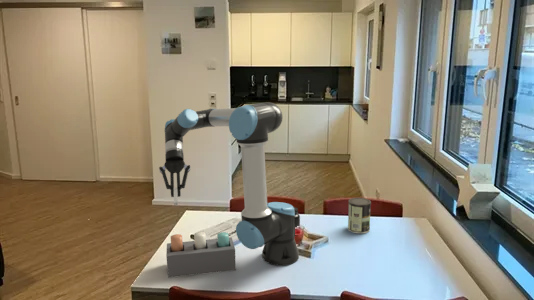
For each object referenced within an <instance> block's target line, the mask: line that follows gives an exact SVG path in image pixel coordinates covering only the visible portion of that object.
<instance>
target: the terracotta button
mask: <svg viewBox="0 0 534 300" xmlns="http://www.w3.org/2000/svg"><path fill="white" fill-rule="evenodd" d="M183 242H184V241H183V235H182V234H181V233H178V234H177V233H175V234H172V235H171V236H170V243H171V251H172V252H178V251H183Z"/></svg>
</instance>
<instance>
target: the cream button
mask: <svg viewBox="0 0 534 300" xmlns="http://www.w3.org/2000/svg"><path fill="white" fill-rule="evenodd" d="M206 235H207V234H206V232H204V231H203V232H202V231H200V232H199V231H198V232H195V233H194V234H193V238H194V240H193V241H195V250H199V249H206V240H207V237H206Z"/></svg>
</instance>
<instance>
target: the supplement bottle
mask: <svg viewBox="0 0 534 300" xmlns="http://www.w3.org/2000/svg"><path fill="white" fill-rule="evenodd" d="M293 207H294V212H295V227H297V226H300V225H301V216H300V214H299V209H298V207H295V206H293ZM300 227H301V226H300Z"/></svg>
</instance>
